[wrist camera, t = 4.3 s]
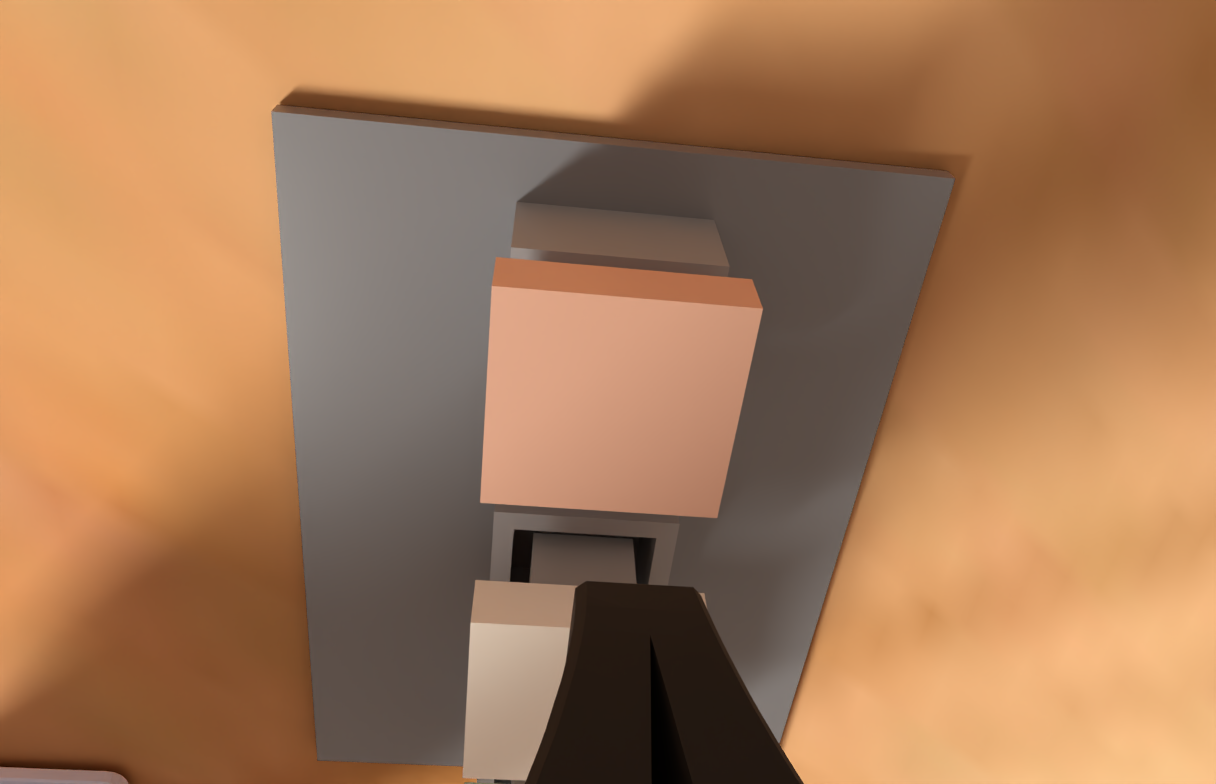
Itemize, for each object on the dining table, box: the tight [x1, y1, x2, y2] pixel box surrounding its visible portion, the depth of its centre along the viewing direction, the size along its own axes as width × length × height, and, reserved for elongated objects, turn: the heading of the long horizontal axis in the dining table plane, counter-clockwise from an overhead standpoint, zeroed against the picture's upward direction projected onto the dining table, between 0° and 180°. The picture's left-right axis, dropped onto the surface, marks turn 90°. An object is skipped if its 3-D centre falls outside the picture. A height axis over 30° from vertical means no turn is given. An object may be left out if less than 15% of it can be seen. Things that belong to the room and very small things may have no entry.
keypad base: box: [271, 105, 955, 784], centre depth 21 cm, size 17×12×2 cm
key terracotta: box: [480, 257, 763, 518], centre depth 17 cm, size 4×4×4 cm
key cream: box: [463, 533, 707, 780], centre depth 19 cm, size 4×4×4 cm
